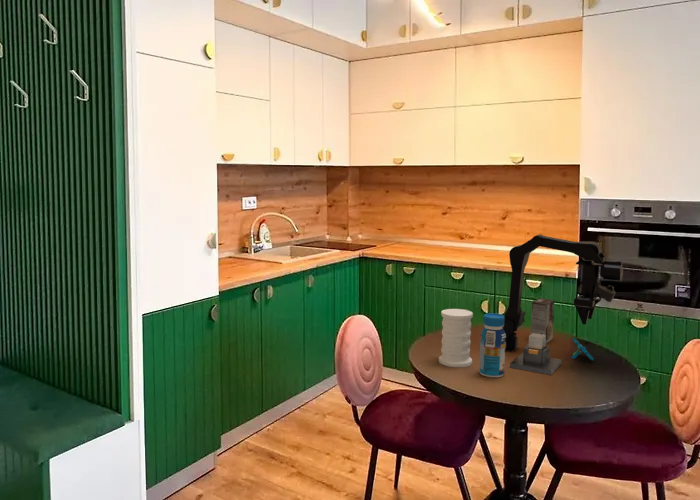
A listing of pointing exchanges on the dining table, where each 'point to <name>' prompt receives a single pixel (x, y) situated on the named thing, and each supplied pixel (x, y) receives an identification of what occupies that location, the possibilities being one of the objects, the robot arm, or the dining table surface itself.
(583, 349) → the blue angular plastic piece
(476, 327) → the dining table surface
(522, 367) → the stand
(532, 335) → the block
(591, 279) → the robot arm
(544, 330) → the coffee box
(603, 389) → the dining table surface
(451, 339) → the decorative container
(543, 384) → the dining table surface
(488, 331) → the beverage bottle
